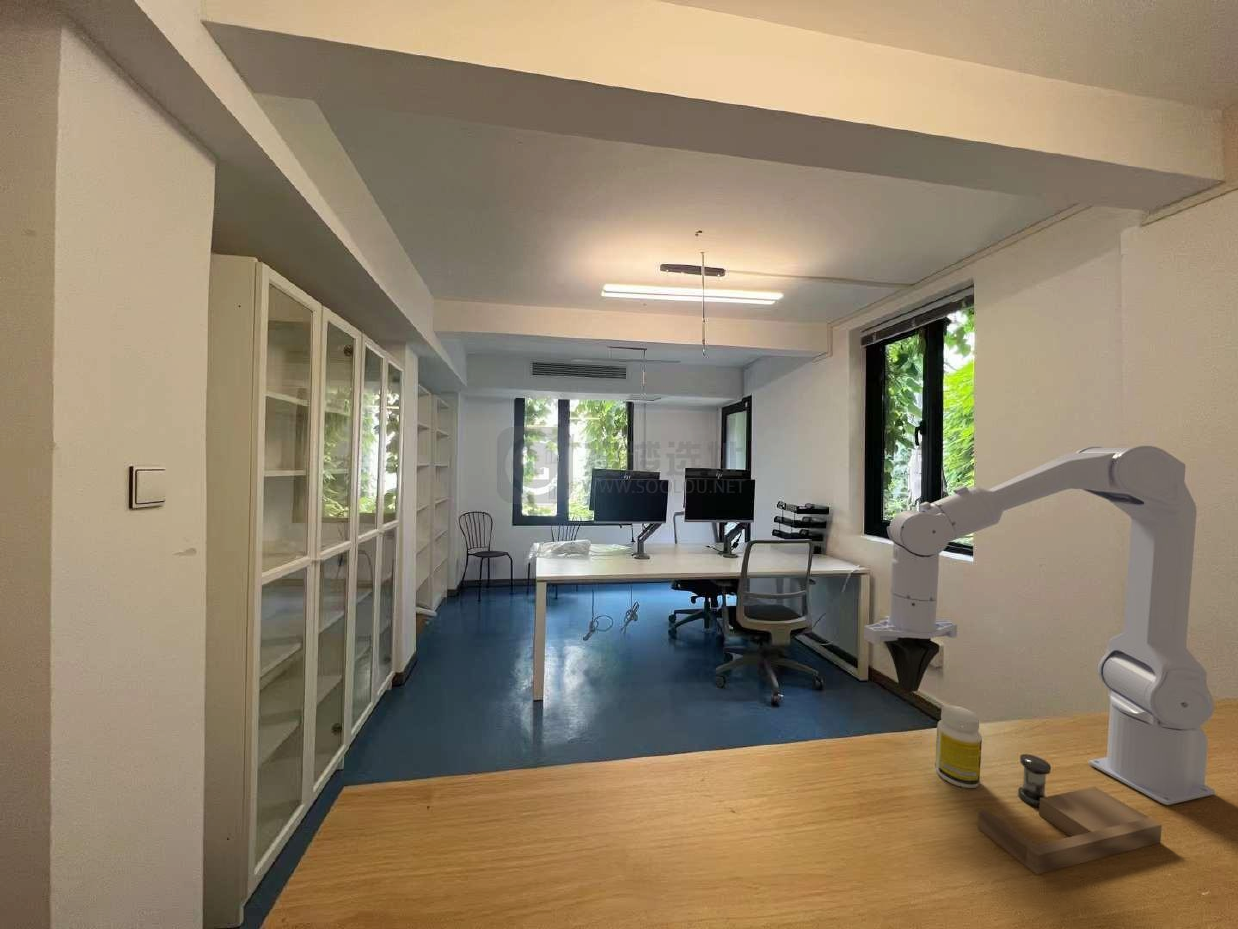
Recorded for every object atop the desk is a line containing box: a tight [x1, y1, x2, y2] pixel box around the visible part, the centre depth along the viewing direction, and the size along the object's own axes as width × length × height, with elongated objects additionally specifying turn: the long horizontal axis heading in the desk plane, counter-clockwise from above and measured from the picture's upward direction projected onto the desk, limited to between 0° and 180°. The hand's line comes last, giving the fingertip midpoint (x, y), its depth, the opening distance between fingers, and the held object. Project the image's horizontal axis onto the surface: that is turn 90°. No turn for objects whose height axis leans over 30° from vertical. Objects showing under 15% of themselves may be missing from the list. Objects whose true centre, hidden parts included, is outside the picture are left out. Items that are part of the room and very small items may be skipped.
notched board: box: [977, 786, 1163, 876], centre depth 53 cm, size 18×6×2 cm, turn 105°
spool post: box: [1017, 753, 1052, 809], centre depth 58 cm, size 3×3×5 cm
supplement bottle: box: [934, 705, 983, 789], centre depth 62 cm, size 5×5×8 cm
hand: (908, 688), depth 69 cm, fingers closed
